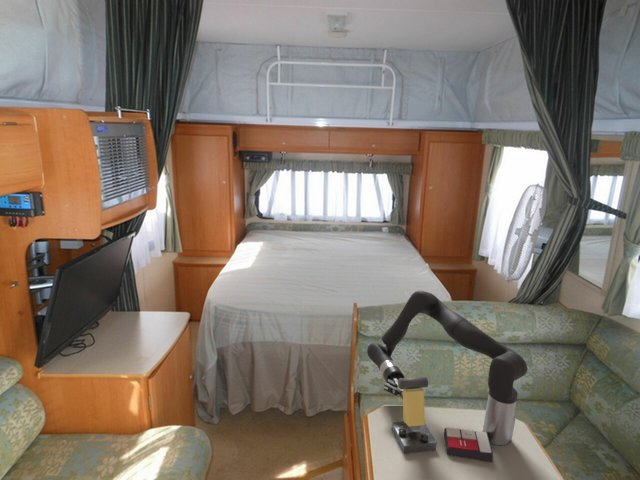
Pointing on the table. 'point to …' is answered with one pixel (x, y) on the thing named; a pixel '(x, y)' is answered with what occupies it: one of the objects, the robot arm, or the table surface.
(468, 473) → the table surface
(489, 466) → the table surface
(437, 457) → the table surface
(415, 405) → the yellow toy mallet
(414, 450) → the base
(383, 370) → the robot arm
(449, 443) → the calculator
